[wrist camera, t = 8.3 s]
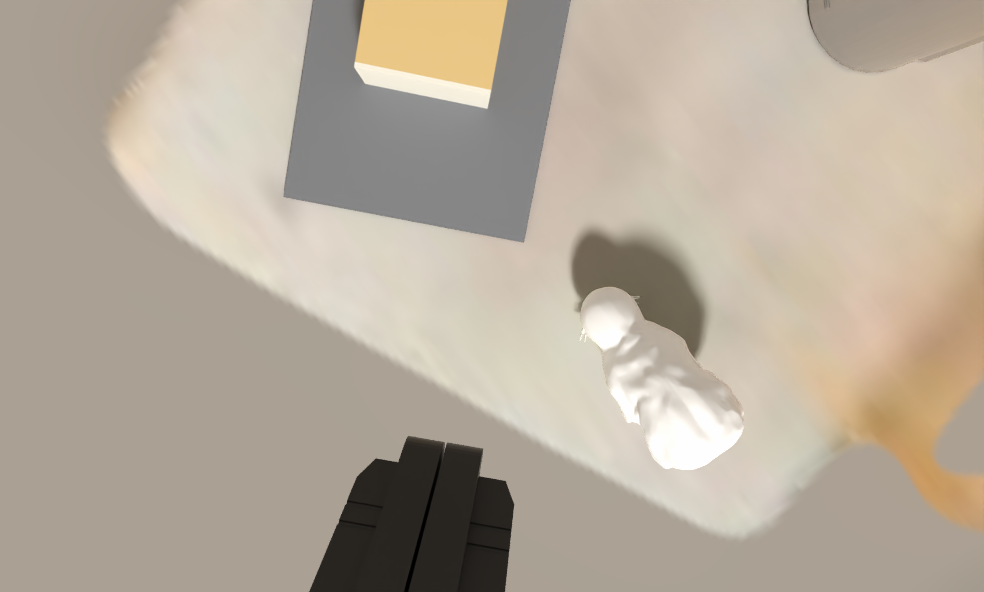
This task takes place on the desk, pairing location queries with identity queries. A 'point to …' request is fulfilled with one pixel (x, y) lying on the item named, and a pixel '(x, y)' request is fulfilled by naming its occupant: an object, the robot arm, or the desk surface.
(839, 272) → the desk surface
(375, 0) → the ochre block
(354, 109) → the charcoal mat
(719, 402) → the white figurine
